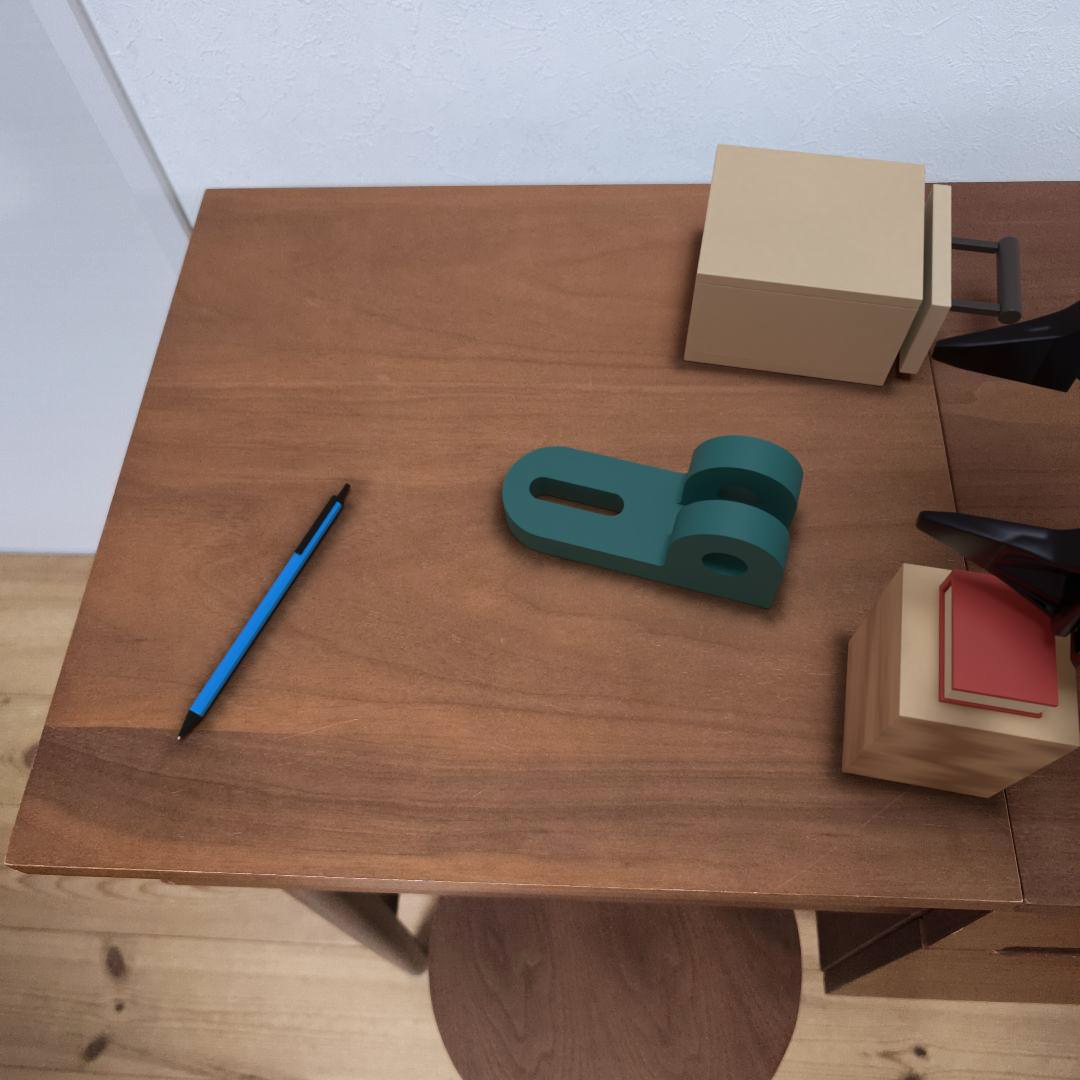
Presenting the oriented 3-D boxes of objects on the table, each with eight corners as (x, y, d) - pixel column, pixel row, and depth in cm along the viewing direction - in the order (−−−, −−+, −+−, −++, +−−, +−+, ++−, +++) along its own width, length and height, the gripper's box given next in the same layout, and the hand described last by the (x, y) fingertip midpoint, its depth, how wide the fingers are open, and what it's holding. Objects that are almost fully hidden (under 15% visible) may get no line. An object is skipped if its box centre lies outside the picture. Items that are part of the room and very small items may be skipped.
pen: (355, 490, 63) (351, 482, 62) (186, 744, 56) (179, 739, 55) (344, 485, 63) (340, 477, 62) (174, 738, 56) (167, 733, 55)
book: (1034, 600, 46) (1052, 583, 44) (1039, 718, 43) (1059, 705, 42) (939, 585, 46) (953, 568, 45) (938, 701, 44) (953, 688, 42)
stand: (985, 664, 56) (1071, 587, 46) (988, 798, 52) (1081, 746, 43) (848, 641, 57) (903, 562, 47) (841, 772, 53) (899, 715, 44)
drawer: (992, 267, 69) (1033, 193, 62) (995, 385, 64) (1039, 317, 58) (746, 239, 71) (761, 165, 65) (731, 351, 66) (746, 282, 60)
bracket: (787, 516, 61) (814, 450, 54) (768, 609, 58) (794, 552, 51) (522, 454, 64) (514, 384, 57) (491, 540, 61) (479, 477, 54)
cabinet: (887, 259, 71) (925, 164, 63) (882, 386, 65) (923, 299, 57) (702, 238, 72) (717, 143, 64) (683, 360, 67) (696, 272, 59)
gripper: (1416, 170, 37) (986, 143, 40) (1489, 616, 29) (958, 537, 33) (1258, 345, 47) (925, 311, 50) (1284, 709, 39) (893, 641, 43)
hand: (925, 430), depth 44 cm, fingers open, 9 cm apart
